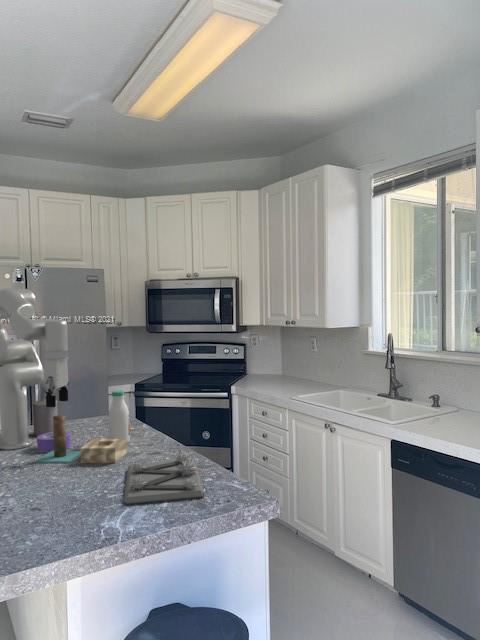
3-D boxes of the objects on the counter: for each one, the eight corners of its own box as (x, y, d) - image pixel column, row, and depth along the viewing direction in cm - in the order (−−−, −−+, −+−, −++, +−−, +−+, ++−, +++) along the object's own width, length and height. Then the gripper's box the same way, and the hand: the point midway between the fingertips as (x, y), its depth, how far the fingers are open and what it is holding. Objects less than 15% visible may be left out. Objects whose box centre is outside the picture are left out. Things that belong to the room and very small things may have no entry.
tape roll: (30, 452, 183) (30, 438, 183) (48, 443, 195) (48, 430, 195) (60, 453, 181) (59, 439, 181) (76, 444, 193) (76, 431, 193)
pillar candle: (35, 432, 212) (33, 397, 212) (59, 430, 215) (57, 395, 215) (32, 438, 203) (31, 401, 203) (58, 435, 206) (56, 399, 205)
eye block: (81, 462, 169) (80, 448, 168) (94, 452, 180) (94, 438, 180) (115, 463, 167) (115, 448, 167) (126, 452, 179) (126, 438, 179)
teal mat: (35, 462, 170) (35, 461, 170) (51, 452, 182) (51, 450, 182) (69, 462, 169) (69, 461, 169) (83, 452, 181) (83, 450, 181)
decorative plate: (128, 471, 161) (127, 449, 160) (194, 465, 164) (194, 444, 164) (124, 508, 131) (123, 481, 131) (205, 500, 135) (204, 474, 135)
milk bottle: (127, 445, 189) (125, 392, 188) (106, 445, 189) (105, 393, 189) (132, 439, 197) (130, 389, 196) (112, 440, 197) (110, 389, 196)
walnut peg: (52, 457, 174) (50, 417, 173) (57, 453, 178) (56, 414, 177) (63, 457, 173) (61, 417, 173) (68, 454, 177) (66, 414, 177)
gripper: (57, 352, 183) (58, 398, 184) (33, 358, 166) (34, 409, 167) (77, 352, 183) (77, 399, 183) (55, 358, 165) (56, 409, 166)
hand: (57, 403), depth 175 cm, fingers open, 9 cm apart
